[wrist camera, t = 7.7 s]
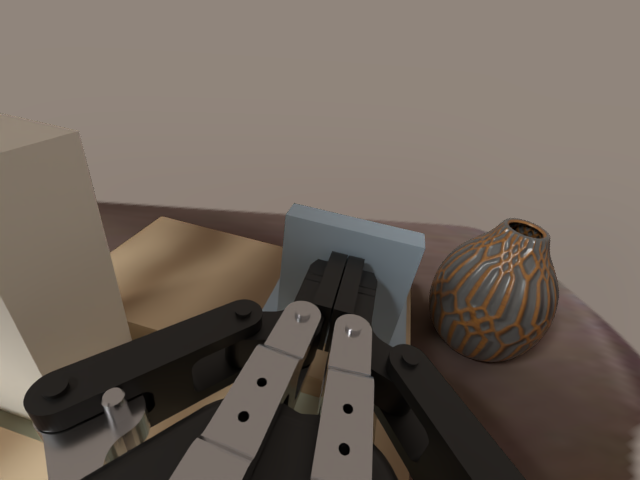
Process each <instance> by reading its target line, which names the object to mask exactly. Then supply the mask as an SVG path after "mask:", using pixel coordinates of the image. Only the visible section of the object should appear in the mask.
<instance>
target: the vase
mask: <svg viewBox="0 0 640 480" xmlns="http://www.w3.org/2000/svg"><path fill="white" fill-rule="evenodd" d="M558 299H559V287H558V281H557V277H556V273H555V270H554V266H553V263H552V260H551V257H550V235H549V234H548V233H547V231H545V230H544V229H543V228H541V227H540V226H538V225H536V224H534V223H531V222H529V221H526V220H522V219H516V218H509V219H506V220H504V221H503V222H502V223H500V224H499V225H498V226H497V227H496V228H494V229H492V230H491V231H489V232H486V233H484V234H482V235H479V236H477V237H475V238H473V239H470V240H468V241H466V242H464V243H463V244H461V245H459V246H458V247H457V248H456V249H454V250H453V251H452V252H451V253H450V254H449V255H448V256H447V257H446V259H445V260H444V261H443V262H442V264H441V265H440V267H439V268H438V270H437V272H436V275H435V277H434V280H433V282H432V286H431V289H430V296H429V309H430V316H431V319H432V322H433V324H434V327H435V329H436V330H437V332H438V333H439V335H440V336H441V338H442V339H443V340H444V341H445V342H446V343H447V344H448V345H449V346H450V347H451V348H452V349H453V350H455V351H456V352H458V353H460V354H461V355H463V356H466V357H468V358H471V359H475V360H479V361H486V362H499V361H506V360H510V359H512V358H515V357H517V356H519V355H521V354H523V353H525V352H526V351H528V350H529V349H531V348H532V347H533V346H534V345H535V344H536V343H537V342H538V341H539V340H540V339H541V338H542V337H543V336H544V334H545V333H546V332H547V330H548V328H549V327H550V325H551V323H552V321H553V319H554V316H555V313H556V310H557V305H558Z"/></svg>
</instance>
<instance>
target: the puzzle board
mask: <svg viewBox="0 0 640 480" xmlns="http://www.w3.org/2000/svg"><path fill="white" fill-rule="evenodd" d="M282 250H283V247H281V246H277V245H273V244H269V243H265V242H261V241H257V240H253V239H249V238H245V237H241V236H237V235H233V234H230V233H226V232H222V231H218V230H214V229H210V228H206V227H202V226H198V225H194V224H190V223H186V222H182V221H178V220H174V219H170V218H167V217H163V216H161V217H160V218H158V219H157V220H155V221H154V222H153V223H151V224H150V225H148V226H147V227H146V228H144V229H143V230H141V231H140V232H139V233H137V234H136V235H134V236H133V237H132V238H130V239H129V240H127V241H126V242H125V243H123V244H122V245H120V246H119V247H117V248H116V249H115V250H113V251H112V252H110V256H111V260H112V263H113V267H114V271H115V275H116V279H117V283H118V287H119V291H120V295H121V299H122V303H123V307H124V311H125V315H126V319H127V323H128V326H129V330H130V334H131V338H132V340H135V339H137V338H140V337H143V336H145V335H148V334H150V333H153V332H156V331H158V330H161V329H163V328H166V327H168V326H171V325H174V324H176V323H179V322H181V321H184V320H187V319H189V318H192V317H194V316H197V315H200V314H202V313H205V312H207V311H210V310H212V309H215V308H218V307H220V306H223V305H225V304H228V303H231V302H233V301H236V300H241V299H248V300H252V301H254V302H256V303H258V304H259V305H260V306H261V308H262V309H263V307H264V306H265V304H266V302H267V300H268V298H269V297H270V295H271V293H272V291H273V289H274V288H275V286H276V284H277V282H278V280H279V279H280V272H281V261H282ZM410 329H411V288H410V290H409V293H408V296H407V310H406V344H408V345H410ZM325 345H326V343H325V344H324V347H323V351H322V350H319V349H317V352H316V355H315V358H314V360H313V362H312V365H311V368H310V371H309V373H308V375H307V378H306V380H305V383H304V385H303V388H302V390H301V393H300V395H299V398H298V400H297V402H296V405H295V408H294V410H295V411H297V412H299V413H301V414H315V415H316V414H317V409H318V403H319V397H320V392H321V386H322V380H323V374H324V369H325V365H326V360H327V356H328V352H326V351H324V350H325ZM232 385H233V384H231V385H229V386H227V387H225V388H223V389H222V390H220V391H218V392H216V393H214V394H212V395H210V396H209V397H207V398H205V399H203V400H201V401H199V402H197V403H196V404H194V405H192V406H190V407H188V408H186V409H184V410H183V411H181V412H179V413H177V414H175V415H173V416H171V417H170V418H168V419H166V420H164V421H162V422H160V423H158V424H157V425H155V426H153V427H151V428H150V431H149V434H148V436H147V438H146V439H145V441H146V440H148V439H149V438H151V437H153V436H154V435H156V434H158V433H160V432H161V431H163V430H165V429H166V428H168V427H170V426H171V425H173V424H175V423H176V422H178V421H180V420H182V419H183V418H185V417H187V416H188V415H190V414H192V413H193V412H195V411H197V410H198V409H200V408H202V407H204V406H205V405H207V404H210V403H212V402H214V401H217V400H220V399H224V398H225V396H226V395H227V393H228V391H229V390H230V388H231V387H232ZM373 444H374V445H375V446H376V447H377V448H378V449H379V450H380V451H381V452H382V453H383V454H384V456H385V457H386V459H387V460H388V462H389V463H390V465H391V467H392V468H393V470H394V472H395V474H396V476H397V478H398V480H409V472H408V470H407V468H406V466H405V465H404V463H403V461H402V459H401V458H400V456H399V454H398V453H397V451H396V449H395V447H394V446H393V444H392V442H391V440H390V439H389V437H388V435H387V433H386V432H385V430H384V428H383V426H382V425H381V423H380V421H379V420H378V418H377V416H376V414H375V413H374V412H373ZM0 480H48V473H47V465H46V458H45V450H44V443H43V441H42V440H41V438H40V436H39V435H38V433H37V432H36V430H35V428H34V426H33V422H32V421H31V420H29V419H26V418H23V417H20V416H17V415H15V414H12V413H9V412H6V411H3V410H1V409H0Z"/></svg>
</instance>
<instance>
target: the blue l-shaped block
mask: <svg viewBox="0 0 640 480" xmlns="http://www.w3.org/2000/svg"><path fill="white" fill-rule="evenodd" d="M424 250H425V235H424V234H423V233H418V232H414V231H410V230H406V229H401V228H397V227H393V226H389V225H384V224H380V223H376V222H372V221H368V220H363V219H359V218H355V217H351V216H346V215H342V214H338V213H334V212H329V211H325V210H321V209H317V208H312V207H308V206H304V205H300V204H295V203H294V204H293V205H292V207H291V208H290V210H289V211H288V212H287V214H286V218H285V229H284V240H283V250H282V261H281V272H280V279H279V280H278V282H277V284H276V286H275V288H274V289H273V291H272V293H271V295H270V297H269V298H268V300H267V302H266V304H265V306H264V307H263V309H262V311H281V310H284V309H285V308H286V307H287V306H288V305H289V304H290V303H292V302H294V300H295V298H296V296H297V294H298V291H299V289H300V287H301V285H302V282H303V280H304V278H305V276H306V274H307V271H308V269H309V267H310V265H311V264H312V263H313V262H315V261H316V260H317V259H321V260H325V261H328V260H329V258H330V255H331V253H332V251H334V252H338V253H342V254H346V255H348V257H349V255H351V256H355V257H359V258H363V259H365V261H364V266H363V270H364V271H368V272H372V273H374V274H375V277H376V279H377V281H378V282H377V289H376V296H375V303H374V310H373V317H372V329H373V331H374V333H375V334H376V336H377V337H378V338H379V339H381V340H382V341H383V342H385V343H387V344H388V345H390V346H392V347H394V346H396V345H399V344H406V310H407V296H408V293H409V290H410V288H411V285H412V282H413V280H414V277H415V274H416V272H417V269H418V266H419V264H420V261H421V258H422V256H423V253H424ZM348 257H347V261H348ZM346 264H347V262H346ZM345 268H346V266H345ZM344 271H345V270H344ZM328 332H329V330H328ZM327 336H328V334H327ZM326 341H327V337H326V340H325V343H326Z"/></svg>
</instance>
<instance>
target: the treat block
mask: <svg viewBox="0 0 640 480" xmlns="http://www.w3.org/2000/svg"><path fill="white" fill-rule="evenodd" d="M130 341H132V338H131V334H130V330H129V326H128V323H127V319H126V315H125V311H124V307H123V303H122V299H121V295H120V291H119V287H118V283H117V279H116V275H115V271H114V267H113V263H112V260H111V256H110V252H109V248H108V244H107V240H106V236H105V232H104V228H103V224H102V220H101V216H100V212H99V208H98V204H97V201H96V197H95V193H94V189H93V185H92V181H91V177H90V173H89V169H88V165H87V161H86V157H85V153H84V149H83V146H82V142H81V138H80V134H79V131H76V130H73V129H68V128H63V127H59V126H55V125H51V124H46V123H41V122H37V121H33V120H29V119H24V118H19V117H15V116H11V115H6V114H2V113H0V409H1V410H3V411H6V412H9V413H12V414H15V415H17V416H20V417H23V418H26V419H29V420H31V418H30V417H29V415H28V413H27V412H26V410H25V408H24V406H23V400H24V396H25V394H26V392H27V390H28V389H29V388H30V387H31V385H32V384H33V383H34V382H36V381H37V380H38V379H39V378H41V377H42V376H44V375H46V374H48V373H50V372H52V371H54V370H57V369H60V368H62V367H65V366H67V365H70V364H73V363H75V362H78V361H80V360H83V359H86V358H88V357H91V356H93V355H96V354H99V353H101V352H104V351H106V350H109V349H111V348H114V347H117V346H119V345H122V344H124V343H127V342H130ZM31 421H32V420H31Z"/></svg>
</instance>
